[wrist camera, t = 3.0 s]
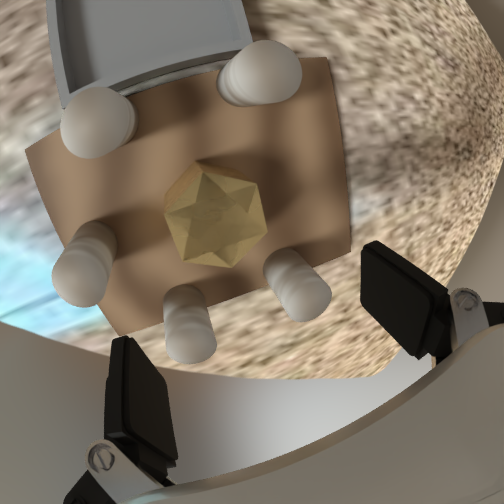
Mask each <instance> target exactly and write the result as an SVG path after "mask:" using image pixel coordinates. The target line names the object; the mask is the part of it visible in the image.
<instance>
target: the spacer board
mask: <svg viewBox="0 0 504 504" xmlns="http://www.w3.org/2000/svg"><path fill="white" fill-rule="evenodd" d="M25 152H26V156H27V159H28V162H29V165H30V168H31V171H32V174H33V177H34V179H35V182H36V185H37V187H38V190H39V193H40V195H41V198H42V200H43V202H44V205H45V207H46V210H47V212H48V214H49V216H50V219H51V221H52V223H53V225H54V227H55V230H56V232H57V234H58V236H59V238H60V240H61V242H62V244H63V246H64V248H65V249H64V251H63V252H62V254H61V255H60V257H59V259H58V260H57V262H56V263H55V265H54V267H53V270H52V283H53V286H54V288H55V290H56V292H57V293H58V295H59V296H60V297H61V298H62V299H63V300H65V301H66V302H68V303H69V304H71V305H74V306H77V307H91V306H94V305H96V304H97V305H98V306H99V308H100V309H101V311H102V312H103V314H104V315H105V317H106V318H107V320H108V321H109V323H110V324H111V325H112V327H113V328H114V330H115V331H116V333H117V334H118V335H119V336H122V335H126V334H129V333H132V332H135V331H138V330H141V329H144V328H147V327H151V326H154V325H157V324H160V323H163V322H164V328H165V341H166V351H167V353H168V355H169V356H170V357H171V358H172V359H173V360H175V361H177V362H179V363H183V364H196V363H200V362H203V361H205V360H207V359H209V358H210V357H211V356H212V355H213V354H214V352H215V351H216V348H217V342H216V339H215V335H214V332H213V328H212V324H211V321H210V317H209V313H208V310H207V307H209V306H212V305H215V304H218V303H220V302H223V301H226V300H229V299H232V298H234V297H237V296H240V295H242V294H245V293H248V292H251V291H253V290H256V289H259V288H261V287H264V286H267V285H270V287H271V288H272V290H273V292H274V293H275V295H276V296H277V298H278V299H279V301H280V303H281V304H282V306H283V307H284V309H285V310H286V312H287V314H288V315H289V317H290V318H291V319H292V320H294V321H296V322H307V321H310V320H313V319H315V318H316V317H318V316H319V315H321V314H322V313H323V312H324V311H325V310H326V308H327V307H328V305H329V303H330V301H331V297H332V291H331V289H330V287H329V286H328V285H327V283H326V282H325V281H324V280H323V279H322V278H321V277H320V276H319V275H318V274H317V273H316V272H315V271H314V269H313V267H315V266H318V265H320V264H323V263H325V262H328V261H330V260H333V259H335V258H337V257H340V256H342V255H345V254H347V253H349V252H351V243H350V221H349V205H348V191H347V180H346V170H345V161H344V153H343V145H342V137H341V130H340V124H339V117H338V111H337V105H336V100H335V94H334V89H333V84H332V79H331V74H330V70H329V65H328V61H327V57H319V58H299V59H298V58H297V56H296V55H295V53H294V52H293V51H292V50H291V49H290V48H288V47H287V46H285V45H284V44H282V43H279V42H277V41H272V40H260V41H256V42H253V43H251V44H249V45H247V46H246V47H245V48H244V49H242V50H241V51H240V52H239V53H238V54H237V55H236V56H234V57H233V58H232V59H231V60H230V61H229V62H228V63H227V64H226V65H225V66H224V67H222V69H219V70H215V71H210V72H206V73H202V74H198V75H194V76H190V77H186V78H182V79H179V80H175V81H172V82H169V83H165V84H162V85H159V86H156V87H153V88H150V89H147V90H144V91H141V92H139V93H136V94H133V95H131V96H128V97H126V98H125V97H124V96H122V95H120V94H119V93H117V92H115V91H114V90H112V89H110V88H106V87H92V88H88V89H86V90H83V91H82V92H80V93H79V94H77V95H76V96H75V97H74V98H73V99H72V100H71V101H70V102H69V103H68V105H67V106H66V108H65V110H64V112H63V115H62V119H61V124H60V129H58V130H56V131H54V132H53V133H51V134H49V135H47V136H46V137H44V138H42V139H41V140H39V141H38V142H36V143H34V144H33V145H31V146H30V147H28V148H27V149H25ZM194 161H199V162H204V163H209V164H213V165H218V166H222V167H227V168H231V169H235V170H238V171H240V172H241V173H242V174H244V175H245V176H247V177H248V178H250V179H251V180H252V181H254V182H255V183H257V186H258V191H259V195H260V199H261V204H262V208H263V213H264V217H265V222H266V226H267V231H268V232H267V233H266V234H265V235H264V236H263V237H262V238H261V239H260V240H259V241H258V242H257V243H256V244H255V245H254V246H253V247H252V248H251V249H250V250H249V251H248V252H247V253H246V254H245V255H244V256H243V257H242V258H241V259H240V260H239V261H238V262H237V263H236V264H235V265H234V266H233V267H232V268H229V267H220V266H212V265H204V264H195V263H187V262H182V259H181V257H180V255H179V252H178V250H177V247H176V245H175V242H174V240H173V237H172V234H171V232H170V229H169V227H168V224H167V221H166V219H165V216H164V194H165V193H166V192H167V190H168V189H169V188H170V187H171V186H172V185H173V184H174V183H175V181H176V180H177V179H178V178H179V177H180V176H181V175H182V174H183V173H184V172H185V170H186V169H187V168H188V167H189V166H190V165H191V164H192V163H193V162H194Z"/></svg>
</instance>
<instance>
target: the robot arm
mask: <svg viewBox="0 0 504 504" xmlns="http://www.w3.org/2000/svg"><path fill="white" fill-rule="evenodd" d="M447 292H448V289H447V288H445V287H444V286H443V285H441V284H440V283H439V282H437V281H436V280H435V279H433V278H432V277H430V276H429V275H428V274H426V273H425V272H423V271H422V270H421V269H419V268H418V267H416V266H415V265H414V264H412V263H411V262H409V261H408V260H406V259H405V258H403V257H402V256H400V255H399V254H397V253H396V252H394V251H393V250H391V249H390V248H388V247H387V246H385V245H384V244H382V243H381V242H379V241H377V240H376V241H373V242H370V243H368V244H366V245H364V247H363V250H362V251H361V290H360V301H361V304H362V306H363V307H364V309H365V310H366V311H367V312H368V313H369V314H370V315H371V316H372V317H373V318H374V319H375V320H376V321H377V322H378V323H379V324H380V325H381V326H382V327H383V328H384V329H385V330H386V331H387V332H388V333H389V334H390V335H391V336H392V337H393V338H394V339H395V340H396V341H397V342H398V343H399V344H400V345H401V346H402V347H403V348H404V349H405V350H406V351H407V353H408V354H409V355H411V356H415V357H416V358H417V359H418V360H420V359H421V358H422V357H423V356H425V355H426V354H427V353H429V354H431V356H432V370H430V371H429V372H428V373H427V374H426V375H424V376H423V377H421V378H420V379H419V380H418V381H416V382H415V383H414V384H412V385H411V386H409V387H408V388H407V389H405V390H404V391H402V392H401V393H399V394H398V395H396V396H395V397H393V398H392V399H390V400H389V401H387V402H386V403H384V404H383V405H381V406H379V407H378V408H376V409H375V410H373V411H371V412H370V413H368V414H366V415H365V416H363V417H361V418H359V419H358V420H356V421H354V422H352V423H351V424H349V425H347V426H345V427H343V428H341V429H340V430H338V431H336V432H333V433H331V434H329V435H327V436H325V437H323V438H322V439H319V440H317V441H315V442H313V443H310V444H308V445H306V446H304V447H301V448H299V449H297V450H294V451H292V452H289V453H287V454H284V455H282V456H279V457H276V458H274V459H271V460H269V461H265V462H263V463H259V464H256V465H254V466H250V467H247V468H244V469H241V470H237V471H233V472H230V473H226V474H223V475H219V476H215V477H211V478H207V479H203V480H198V481H194V482H189V483H184V484H177V483H176V482H174V481H173V480H172V479H170V478H169V477H168V476H167V475H168V473H167V468H173V467H176V462H175V460H177V459H178V453H177V448H176V442H175V437H174V431H173V425H172V419H171V413H170V406H169V398H168V391H167V384H166V382H165V380H164V378H163V377H162V375H161V374H160V373H159V372H158V370H157V369H156V368H155V366H154V365H153V364H152V363H151V361H150V360H149V359H148V357H147V356H146V355H145V353H144V352H143V350H142V349H141V348H140V346H139V345H138V344H137V342H136V341H135V339H134V338H132V337H131V338H129V337H128V336H127V335H125V336H122V337H119V338H115V339H113V340H112V345H111V354H110V364H109V376H108V378H107V380H106V390H105V410H104V411H105V412H104V439H101V440H97V441H94V442H93V443H92V444H90V446H89V447H88V448H87V450H86V453H85V464H86V467H87V468H88V470H87V471H86V472H85V474H84V475H83V476H82V477H81V478H80V479H79V481H78V482H77V483H76V484H75V486H74V487H73V488H72V489H71V491H70V492H69V493H68V494H67V495H66V497H65V499H64V502H63V504H504V303H500V302H482V300H481V298H480V296H479V295H478V294H477V293H476V292H475V291H473V290H471V289H468V288H457V289H455V290H454V291H453V292H452V293H451V295H449V294H447Z"/></svg>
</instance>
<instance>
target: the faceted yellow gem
mask: <svg viewBox="0 0 504 504" xmlns="http://www.w3.org/2000/svg"><path fill="white" fill-rule="evenodd" d="M164 216H165V219H166V221H167V224H168V227H169V229H170V232H171V234H172V237H173V240H174V242H175V245H176V247H177V250H178V252H179V255H180V257H181V259H182V262H187V263H195V264H204V265H212V266H220V267H229V268H232V267H233V266H234V265H235V264H236V263H237V262H238V261H239V260H240V259H241V258H242V257H243V256H244V255H245V254H246V253H247V252H248V251H249V250H250V249H251V248H252V247H253V246H254V245H255V244H256V243H257V242H258V241H259V240H260V239H261V238H262V237H263V236H264V235H265V234H266V233H267V232H268V231H267V226H266V222H265V217H264V213H263V208H262V204H261V199H260V195H259V191H258V186H257V183H255V182H254V181H252V180H251V179H250V178H248V177H247V176H245V175H244V174H242V173H241V172H240V171H238V170H235V169H231V168H227V167H222V166H218V165H213V164H209V163H204V162H199V161H194V162H193V163H192V164H191V165H190V166H189V167H188V168H187V169H186V170H185V172H184V173H183V174H182V175H181V176H180V177H179V178H178V179H177V180H176V181H175V183H174V184H173V185H172V186H171V187H170V188H169V189H168V190H167V192H166V193H165V194H164Z"/></svg>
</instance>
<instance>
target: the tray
mask: <svg viewBox="0 0 504 504" xmlns="http://www.w3.org/2000/svg"><path fill="white" fill-rule="evenodd" d="M46 9H47V23H48V34H49V42H50V49H51V56H52V62H53V68H54V74H55V79H56V84H57V88H58V93H59V97H60V101H61V105H62V109H65V108H66V106H67V105H68V103H69V102H70V101H71V100H72V99H73V98H74V97H75V96H76V95H77V94H79V93H80V92H82V91H83V90H86V89H88V88H92V87H106V88H110V89H112V90H114V91H115V92H116V91H118V90H121V89H123V88H126V87H128V86H131V85H134V84H136V83H139V82H142V81H145V80H148V79H151V78H154V77H157V76H160V75H163V74H166V73H170V72H173V71H177V70H180V69H184V68H188V67H192V66H196V65H200V64H204V63H209V62H213V61H218V60H223V59H229V58H233V57H234V56H236V55H237V54H238V53H239V52H240V51H241V50H242V49H244V48H245V47H246V46H247V45H249V44H251V43H253V40H252V36H251V33H250V29H249V25H248V22H247V18H246V15H245V11H244V8H243V4H242V1H241V0H46Z"/></svg>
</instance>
